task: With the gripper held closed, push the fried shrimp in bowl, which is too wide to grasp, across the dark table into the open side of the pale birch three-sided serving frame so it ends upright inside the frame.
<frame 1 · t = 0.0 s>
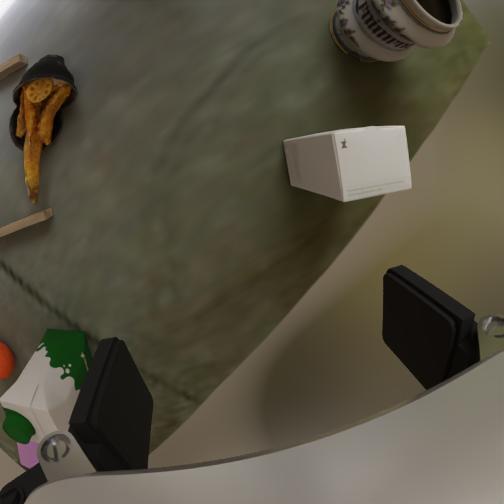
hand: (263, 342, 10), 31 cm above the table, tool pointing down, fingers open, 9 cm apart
clementine: (3, 347, 41), on the table
milk carton: (71, 347, 43), on the table
apothecary jar: (359, 33, 35), on the table
skincare box: (314, 156, 40), on the table
teapot: (53, 422, 47), on the table
fried shrimp in bowl: (50, 125, 32), on the table
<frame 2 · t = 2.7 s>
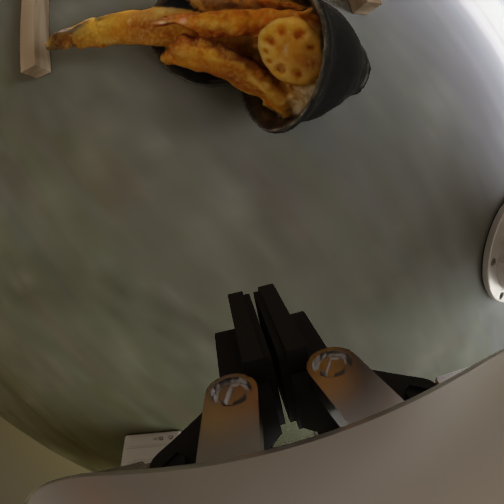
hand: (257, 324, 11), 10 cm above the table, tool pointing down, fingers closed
skincare box: (168, 451, 28), on the table
fried shrimp in bowl: (208, 56, 17), on the table
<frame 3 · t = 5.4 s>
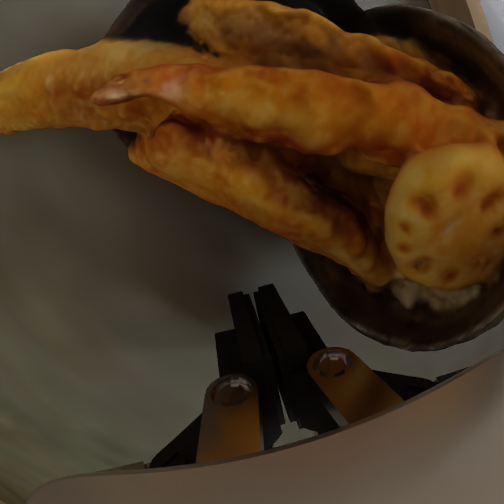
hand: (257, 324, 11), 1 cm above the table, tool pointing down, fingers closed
fried shrimp in bowl: (221, 130, 10), on the table, touching gripper
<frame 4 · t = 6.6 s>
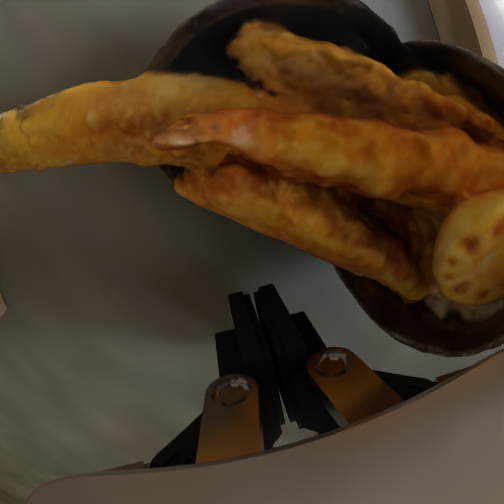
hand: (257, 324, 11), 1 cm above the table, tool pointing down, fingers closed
serving frame: (193, 11, 8), on the table
fried shrimp in bowl: (257, 154, 11), on the table, touching gripper
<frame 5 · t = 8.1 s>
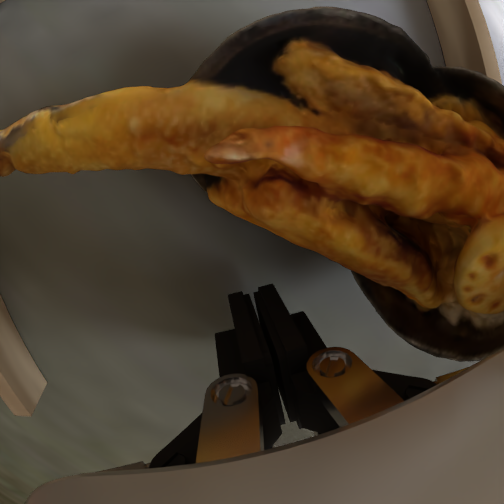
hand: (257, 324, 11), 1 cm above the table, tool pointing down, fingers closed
serving frame: (211, 114, 10), on the table
fried shrimp in bowl: (283, 164, 11), on the table
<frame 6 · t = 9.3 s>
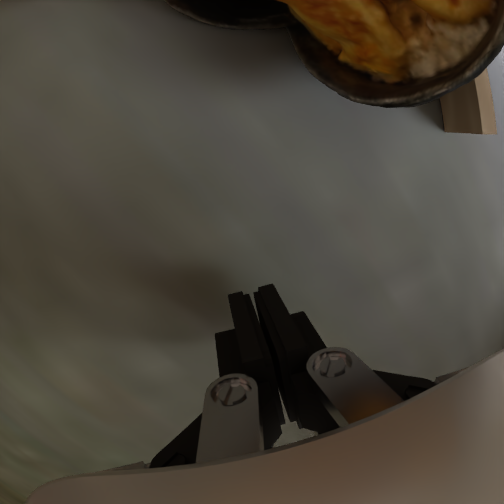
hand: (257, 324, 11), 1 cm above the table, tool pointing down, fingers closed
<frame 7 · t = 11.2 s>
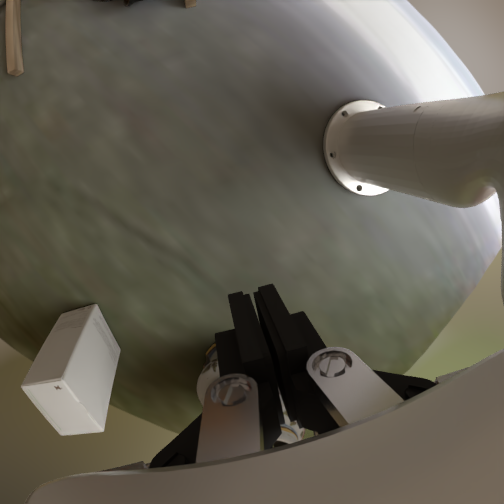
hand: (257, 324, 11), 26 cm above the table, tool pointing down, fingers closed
apothecary jar: (236, 361, 43), on the table
skincare box: (93, 331, 38), on the table
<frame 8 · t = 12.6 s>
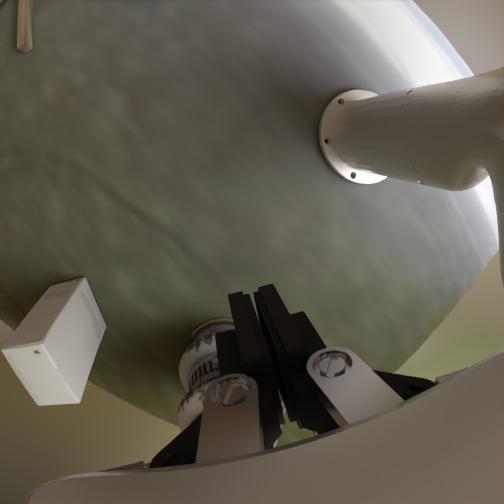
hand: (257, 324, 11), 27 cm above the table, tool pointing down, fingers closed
apothecary jar: (222, 346, 43), on the table
skincare box: (80, 306, 38), on the table
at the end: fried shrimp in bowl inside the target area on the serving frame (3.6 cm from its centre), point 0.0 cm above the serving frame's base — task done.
